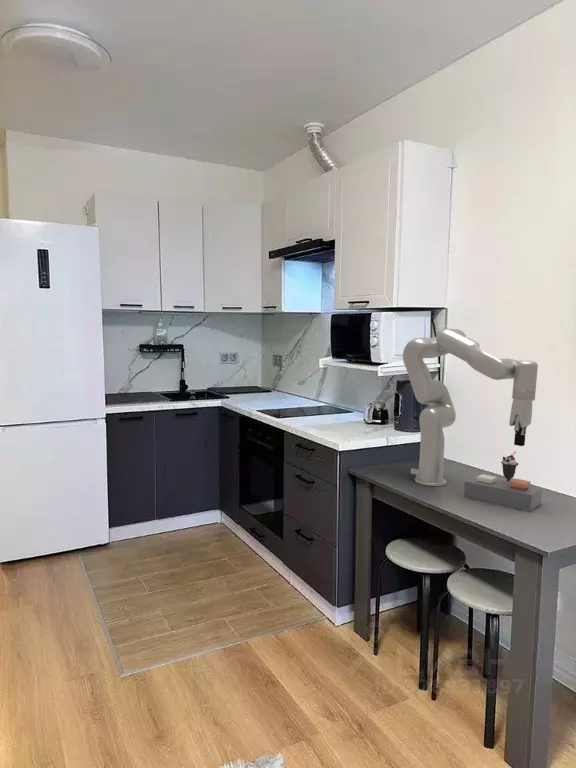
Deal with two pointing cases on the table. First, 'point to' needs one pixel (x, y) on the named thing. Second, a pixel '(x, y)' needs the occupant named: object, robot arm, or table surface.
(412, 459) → the table surface
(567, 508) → the table surface
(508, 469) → the sundae
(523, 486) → the pink block
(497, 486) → the block
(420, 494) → the table surface
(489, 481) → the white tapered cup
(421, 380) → the robot arm
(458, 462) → the table surface
